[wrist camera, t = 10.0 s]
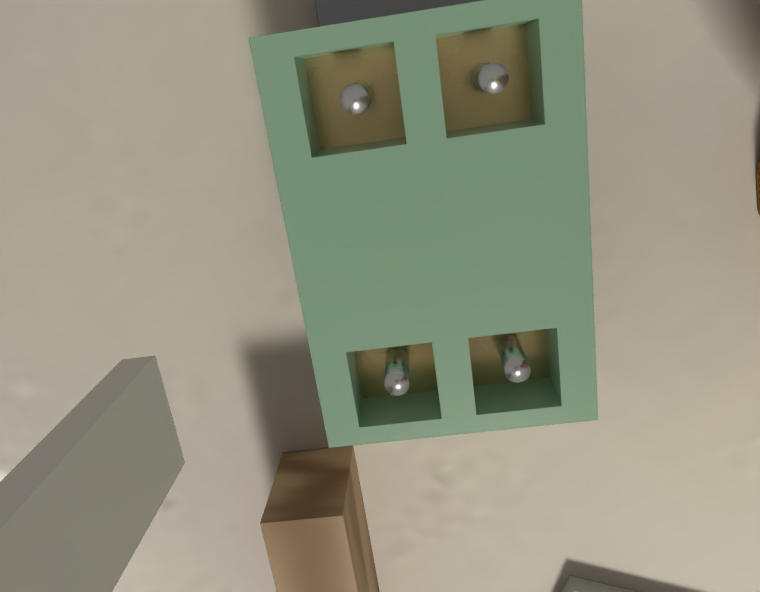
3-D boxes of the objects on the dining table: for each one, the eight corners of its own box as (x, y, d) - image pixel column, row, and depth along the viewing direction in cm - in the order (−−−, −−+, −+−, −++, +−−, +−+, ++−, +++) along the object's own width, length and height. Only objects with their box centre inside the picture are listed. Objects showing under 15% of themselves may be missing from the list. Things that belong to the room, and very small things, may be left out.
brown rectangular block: (319, 618, 40) (305, 707, 34) (283, 452, 36) (260, 523, 31) (383, 612, 40) (379, 702, 34) (352, 445, 36) (342, 515, 30)
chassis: (371, 394, 35) (361, 484, 27) (305, -7, 28) (268, -36, 21) (539, 376, 34) (577, 463, 27) (510, -41, 28) (549, -83, 20)
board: (335, 417, 29) (329, 447, 27) (264, 41, 24) (248, 38, 22) (582, 390, 28) (597, 419, 26) (563, -7, 23) (581, -16, 21)
